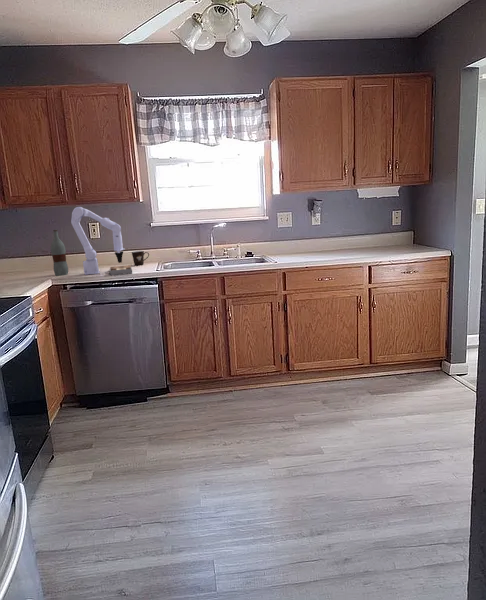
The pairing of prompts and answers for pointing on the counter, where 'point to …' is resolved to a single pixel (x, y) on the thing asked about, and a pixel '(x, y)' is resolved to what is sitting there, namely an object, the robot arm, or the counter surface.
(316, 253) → the counter surface
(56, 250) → the bottle
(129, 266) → the plate
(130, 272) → the box
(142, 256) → the coffee mug
